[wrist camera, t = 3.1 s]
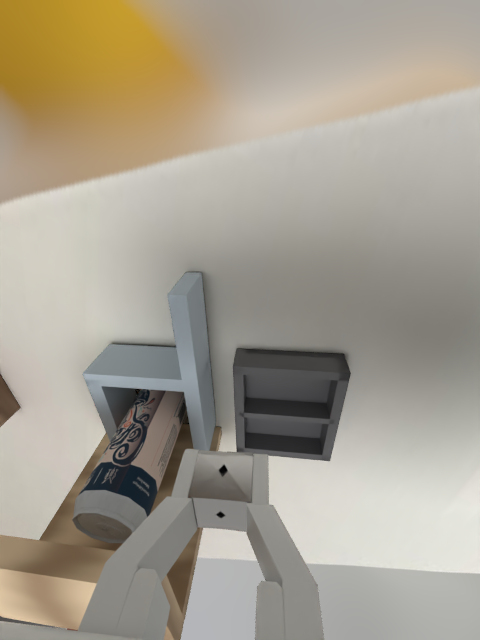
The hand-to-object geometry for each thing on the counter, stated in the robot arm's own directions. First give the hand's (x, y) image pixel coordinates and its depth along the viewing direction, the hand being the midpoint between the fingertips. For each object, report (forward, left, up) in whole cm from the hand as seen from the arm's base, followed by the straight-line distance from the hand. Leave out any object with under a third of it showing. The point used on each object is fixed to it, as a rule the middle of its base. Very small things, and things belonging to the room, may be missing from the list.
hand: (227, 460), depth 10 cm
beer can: (+8, +10, -13) cm, 19 cm away
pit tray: (-3, +10, -13) cm, 17 cm away
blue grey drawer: (+8, +6, -13) cm, 16 cm away
